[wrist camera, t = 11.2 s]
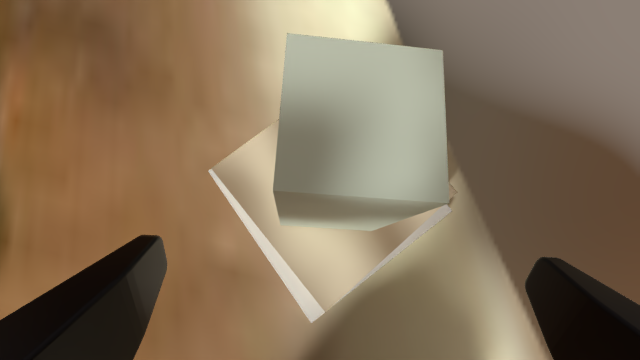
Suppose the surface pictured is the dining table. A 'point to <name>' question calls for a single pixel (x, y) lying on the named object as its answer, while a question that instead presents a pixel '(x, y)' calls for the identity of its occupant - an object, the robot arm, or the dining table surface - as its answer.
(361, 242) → the birch slab
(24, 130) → the dining table surface
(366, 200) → the sage block
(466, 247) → the dining table surface
